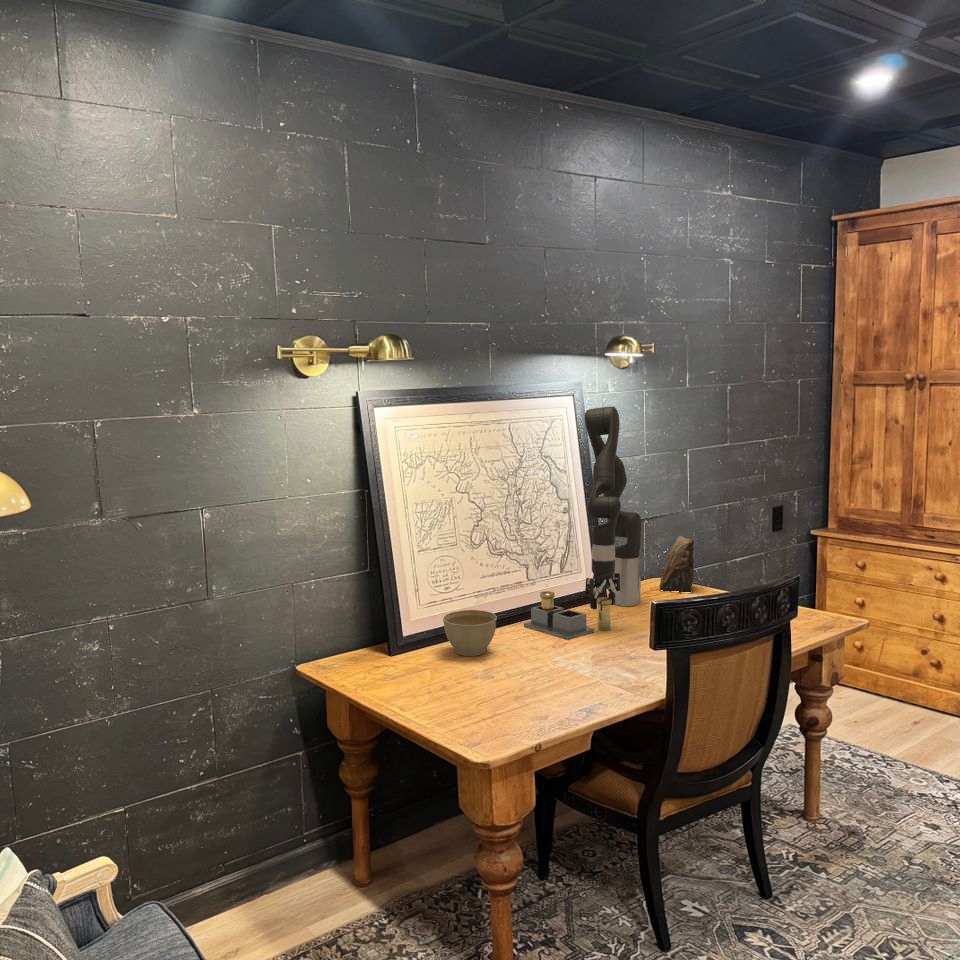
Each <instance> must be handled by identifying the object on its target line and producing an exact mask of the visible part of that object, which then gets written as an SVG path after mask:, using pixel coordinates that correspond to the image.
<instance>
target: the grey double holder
mask: <svg viewBox="0 0 960 960" xmlns="http://www.w3.org/2000/svg"><path fill="white" fill-rule="evenodd" d="M539 597H540V598H541V599H540V602H541V604H540V605H536V606H533V607H530V621H526V622H524V623H523V627H524V628H527V629H530V630H533V631H537V632H540V633H544V634H548V635H550V636H553V637H557V638H561V639H564V640H566V641H567V640H568V641H569V640H572V639H576V638H579V637H582V636H586V635H590V634H593V633H594V631H595V629H594V628H593V627H589V626H587V613H583V612H580V611H576V610H572V609H566V610H565V608H564V607H561V606H558V605H554V599H555V597H556V594H555V592H554V591H548V590H547V591H541V592H539Z"/></svg>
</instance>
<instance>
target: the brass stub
mask: <svg viewBox="0 0 960 960" xmlns="http://www.w3.org/2000/svg"><path fill="white" fill-rule="evenodd" d="M610 604H612V599H611V598H608V597H605V596H603V597H597V630H598V631H601V632H608V631H610V630H611V605H610Z"/></svg>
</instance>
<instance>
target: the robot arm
mask: <svg viewBox="0 0 960 960" xmlns="http://www.w3.org/2000/svg"><path fill="white" fill-rule="evenodd" d="M618 411H619V410H617V408H616V407H615V406H613V405H612V406H603V407H596V408H589V409H587V410H586V411H585V413H584V424H585V429H586V432H587V435H588V438H589V442H590V445H591V447H592V451H593V452H592V453H593V455H594V458H595V459H594V461H595V462H594V464H593V470H592V489H591V494H590V496H589V500H588V502H587V506H586V507H587V508H586V509H587V510H586V511H587V513H588V515H589V516H590V518H592V519H607V522H605V523H602V524H598V525H595V526H594V527H593V529H592V545H591V546H592V547H591V572H592V573H593V575H592V577H586V578H585V587H584V588H585V589H584V596H585V597H588V598H589V607H590V609H592V610H594V611H595V610H598V604H597V598H598V596H599V594H600V593H602V591H603V590H605V589H606V590H607V591H608V594H607V595H608V596H607V598H611V599H612V604H610V606H614V605H615V606H620V607H622V606H623V607H633V606H637V605H639V604H640V603H641V598H642V597H641V588H642V587H641V586H642V584H641V582H642V579H641V576H640V550H641V546H642V545H641V542H642V525H643V524H642V516H641V515H640V514H639V513H638V512H633V511H632V512H631V511H621V509H622V504H621V501H620V498H621V496H622V494H623V492H624V490H625V489H626V486H627V482H628V479H627V474H626V469H625V465H624V462H623V460H622V459H621V458H620V457H619V456H618V455H617V452H618V451H617V449H618V442H619V434H620V426H621V425H620V415H619V412H618ZM605 435H606V436H607V439H606V441H605V442H604V439H603V438H602V436H605ZM602 494H603V496H601V495H602ZM617 537H618V538H625V539H626V543H625V544H623V545H619V546H615V544H616V543H615V541H616V540H615V539H616V538H617Z"/></svg>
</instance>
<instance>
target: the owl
mask: <svg viewBox="0 0 960 960" xmlns="http://www.w3.org/2000/svg"><path fill="white" fill-rule="evenodd" d="M694 544H695V540H694V539H693V538H686V537H684V536H682V535H681V534H680V535H678V537H677V538H676V540H675V542H674V544H673V545H672V546H671V548H670V550H669V551H668V555H667V558H666V561H665V564H664V567H663V570H662V573H661V577H660V583H659V590H663V591H662V592H665V591H679V592H691V591H692V587H693V582H694V557H693V556H694V555H693V553H694V549H695V548H694Z"/></svg>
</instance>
